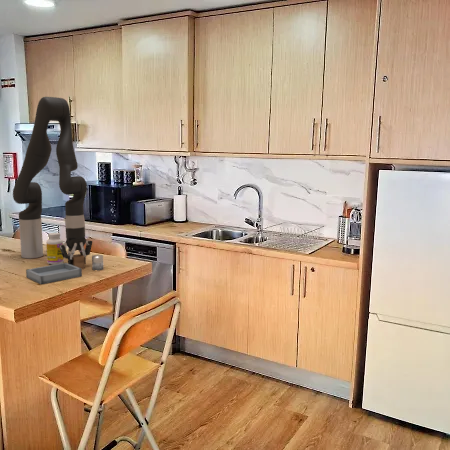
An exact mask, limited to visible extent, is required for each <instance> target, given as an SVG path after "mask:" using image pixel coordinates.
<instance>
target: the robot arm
mask: <svg viewBox="0 0 450 450" xmlns="http://www.w3.org/2000/svg"><path fill="white" fill-rule="evenodd" d="M50 121H51V122H58V124H59V128H60V130H59V137H58V141H57V144H56V146H55V152H56V153H55V155H56V158H57V163H58V167H59V171H58V173H59V175H58V176H59V177H58V185H59V189H60V191H61V192H62V194H64V195H66V196H67V195H68V196H69V195H72V198H71V199H69V200H67V201H65V203H64V207H65V208H64V209H65V222H64V223H65V238H66V239H65V242H63V244H60V245H59V247H60V250H61V253H62V256H63V258H64V259H67V263H68V264H71V265H73V259H72V258H73V255H75V253H76V251H78V252H79V254H80V255H83V256H84V258H85V265H86V263H87V262H86V261H87V259H86V258H87V256H90V255H91V250H92V246H93V240H90V239H86V221H85V216H84V215H85V212H84V211H85V210H84V204H85V198H86V194H87V189H88V185H87V184H88V183H87V181H86V179H85V178H84V177H83V176H79V175H75V176H72V174H71V173H72V172H74V171H76V170H77V169H78V167H79V165H78V161H77V155H76V152H75V148H74V143H73V130H72V128H73V127H72V119H71V109H70V105H69V102H68V101H67V100H66V99H65V98H62V97H57V96H55V97H54V96H42V97H41V98H40V99H39V101H38V103H37V107H36V112H35V117H34V123H33V128H32V131H31V135H30V139H29V142H28V145H27V149H26V152H25V156H24V158H23V159H24V160H23V163H22V165H21V170H20V171H19V174H18V176H17V179H16V181H15V183H14V186H13V189H12V198H13V201H14V202H15V203H16V204H18V205H24V204H25V205H26V204H27V207H26V208H25V209H23V210H22V211H19V212H18V225H19V240H20V255H21V258H23V259H37V258H41V257H43V256H44V243H43V242H44V241H43V228H42V212H43V191H42V187H41V185H40V183H38V182H36V181H34V182H33V180H34V178H35V177H36V176H37V175H38V174H39V173H40V172H42V170H44V169H45V167H46V166H47V165H48V163H49V159H50V156H51V154H52V144H51V141H50V138H49V135H48V133H47V132H48V127H49V124H50ZM67 247H68V248H67Z"/></svg>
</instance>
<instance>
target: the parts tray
mask: <svg viewBox="0 0 450 450" xmlns="http://www.w3.org/2000/svg"><path fill="white" fill-rule="evenodd" d="M82 269H83V268H78V267H76V266H73V265H71V264H68V262H63V263H61V264H55V265H52V264H49V265H44V266H39V267H34V268H28V269H25V276H26V278H27V279H29V280H30V281H33V282H35V283H37V284H39V285H46V284H51V283H55V282H61V281H65V280H70V279H76V278H81V277H83V270H82Z"/></svg>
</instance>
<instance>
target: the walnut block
mask: <svg viewBox="0 0 450 450" xmlns="http://www.w3.org/2000/svg"><path fill="white" fill-rule="evenodd" d="M72 259H73V266H76V267H78V268H81V269H84V268H85V267H86V264H85V258H84V256H83V255H80V253H78V254H73V258H72Z"/></svg>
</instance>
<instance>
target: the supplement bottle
mask: <svg viewBox="0 0 450 450" xmlns="http://www.w3.org/2000/svg"><path fill="white" fill-rule="evenodd" d="M45 244H46V261H47V264H48V265H55V264H61V263H65V262H64V261H65V260H64V259H65V258H63V256H62V253H61V250H60V247H59V245H60V244H64V240H63V239H62V238H61V233H60V232H49V233H48V239H47V240H46V243H45Z"/></svg>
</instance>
